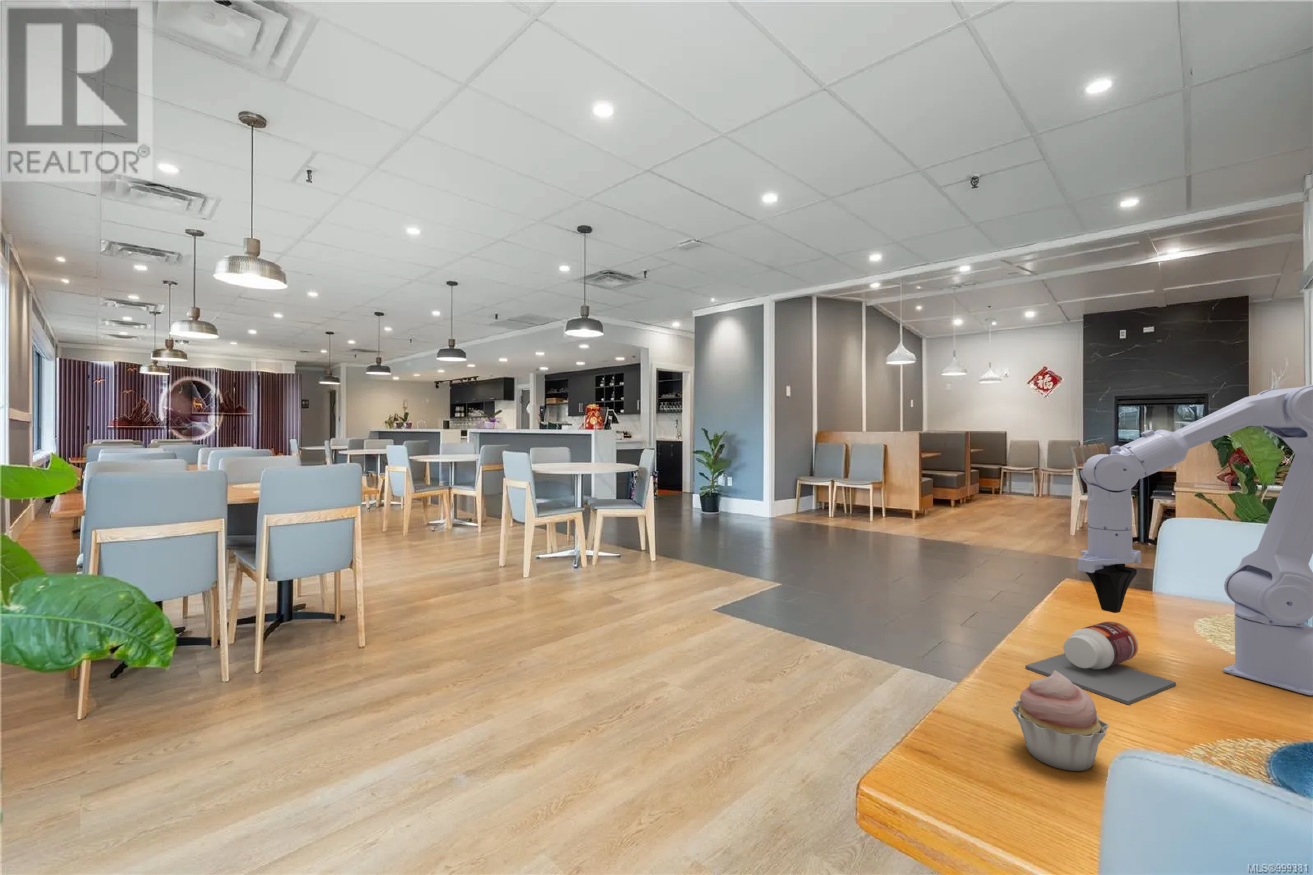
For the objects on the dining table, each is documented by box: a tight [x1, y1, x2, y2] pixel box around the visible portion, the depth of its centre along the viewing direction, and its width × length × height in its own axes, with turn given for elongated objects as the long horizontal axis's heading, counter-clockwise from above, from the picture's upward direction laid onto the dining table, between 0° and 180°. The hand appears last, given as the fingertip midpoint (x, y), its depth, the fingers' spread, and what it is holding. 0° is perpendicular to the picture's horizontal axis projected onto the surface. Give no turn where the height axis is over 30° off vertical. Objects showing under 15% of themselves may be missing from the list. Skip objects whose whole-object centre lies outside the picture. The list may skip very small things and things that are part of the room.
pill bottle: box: [1063, 621, 1139, 670], centre depth 91 cm, size 6×6×11 cm
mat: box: [1024, 653, 1177, 706], centre depth 88 cm, size 14×13×1 cm
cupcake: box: [1010, 670, 1110, 772], centre depth 67 cm, size 9×9×10 cm
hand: (1110, 610), depth 93 cm, fingers closed
